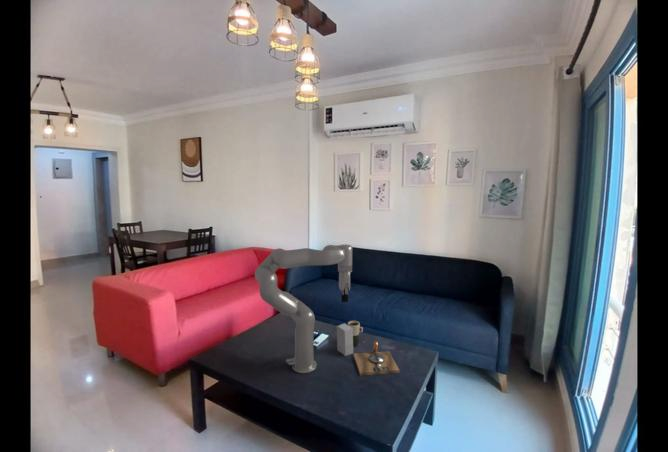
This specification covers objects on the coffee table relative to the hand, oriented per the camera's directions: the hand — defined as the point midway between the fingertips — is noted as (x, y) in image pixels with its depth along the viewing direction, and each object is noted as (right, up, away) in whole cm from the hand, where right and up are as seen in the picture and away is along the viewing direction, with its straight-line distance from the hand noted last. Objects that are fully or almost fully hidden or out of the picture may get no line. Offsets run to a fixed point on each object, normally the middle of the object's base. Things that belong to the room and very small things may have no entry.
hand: (344, 301), depth 169 cm
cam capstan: (+17, -30, -4) cm, 35 cm away
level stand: (+16, -32, -4) cm, 36 cm away
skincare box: (0, -31, +8) cm, 32 cm away
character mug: (+6, -29, +17) cm, 34 cm away
